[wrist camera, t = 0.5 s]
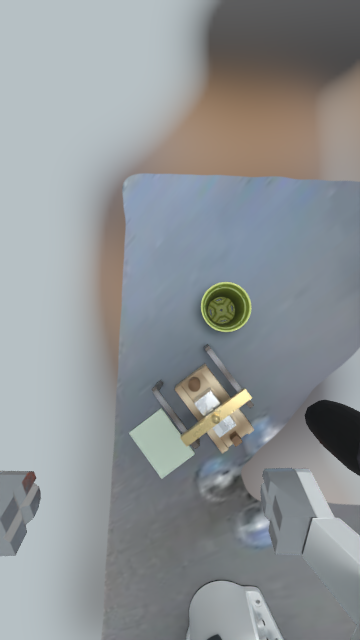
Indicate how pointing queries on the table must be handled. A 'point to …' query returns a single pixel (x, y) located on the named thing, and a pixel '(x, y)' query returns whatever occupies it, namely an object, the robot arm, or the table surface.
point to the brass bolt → (215, 417)
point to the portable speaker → (337, 431)
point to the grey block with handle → (209, 403)
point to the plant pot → (226, 306)
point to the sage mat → (161, 443)
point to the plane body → (206, 379)
